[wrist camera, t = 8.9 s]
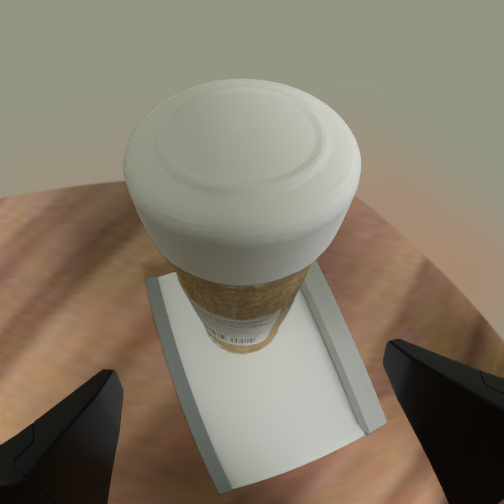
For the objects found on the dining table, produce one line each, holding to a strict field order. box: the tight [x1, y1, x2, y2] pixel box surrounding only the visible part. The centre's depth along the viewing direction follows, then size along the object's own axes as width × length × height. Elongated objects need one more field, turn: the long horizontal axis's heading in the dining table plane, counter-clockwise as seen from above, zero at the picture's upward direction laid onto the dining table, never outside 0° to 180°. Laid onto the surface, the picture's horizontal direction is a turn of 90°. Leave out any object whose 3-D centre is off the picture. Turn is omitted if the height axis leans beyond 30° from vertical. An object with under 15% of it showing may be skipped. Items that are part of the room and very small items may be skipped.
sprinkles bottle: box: [124, 79, 361, 354], centre depth 11 cm, size 5×5×14 cm
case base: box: [145, 259, 387, 494], centre depth 15 cm, size 14×10×2 cm
